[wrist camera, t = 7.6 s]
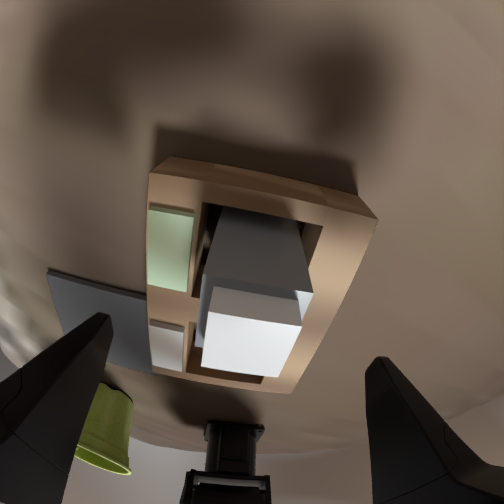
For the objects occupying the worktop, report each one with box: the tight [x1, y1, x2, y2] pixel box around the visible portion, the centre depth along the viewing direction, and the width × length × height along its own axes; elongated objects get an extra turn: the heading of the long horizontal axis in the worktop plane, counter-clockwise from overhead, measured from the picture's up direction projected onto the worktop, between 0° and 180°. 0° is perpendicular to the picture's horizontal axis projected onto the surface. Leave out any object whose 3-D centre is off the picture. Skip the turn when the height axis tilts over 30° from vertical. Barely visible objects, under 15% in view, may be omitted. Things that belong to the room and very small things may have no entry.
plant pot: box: [74, 383, 133, 475], centre depth 23 cm, size 9×9×9 cm
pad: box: [46, 270, 157, 375], centre depth 20 cm, size 9×9×1 cm
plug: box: [195, 206, 314, 377], centre depth 12 cm, size 4×4×8 cm
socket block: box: [146, 157, 378, 394], centre depth 16 cm, size 14×10×3 cm
